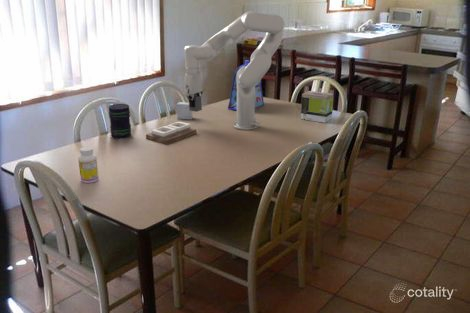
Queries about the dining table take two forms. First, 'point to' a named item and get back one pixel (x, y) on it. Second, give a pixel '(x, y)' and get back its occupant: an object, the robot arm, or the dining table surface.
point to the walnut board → (173, 137)
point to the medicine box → (183, 111)
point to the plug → (196, 104)
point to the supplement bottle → (88, 165)
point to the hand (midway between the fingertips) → (195, 105)
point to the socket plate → (170, 129)
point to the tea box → (317, 106)
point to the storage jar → (120, 121)
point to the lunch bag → (233, 94)
